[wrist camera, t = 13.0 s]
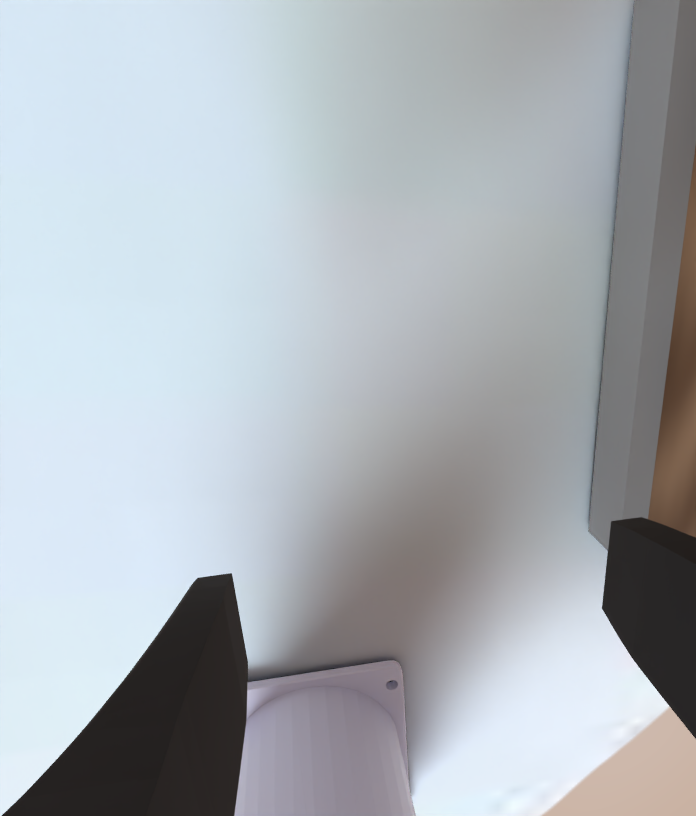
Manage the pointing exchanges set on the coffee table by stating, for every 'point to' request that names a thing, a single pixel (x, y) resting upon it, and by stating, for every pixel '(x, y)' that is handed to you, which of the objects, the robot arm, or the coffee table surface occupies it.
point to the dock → (645, 257)
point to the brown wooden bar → (679, 399)
